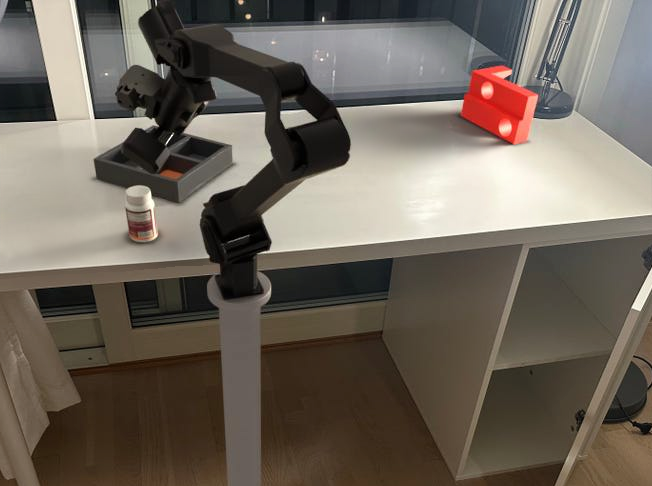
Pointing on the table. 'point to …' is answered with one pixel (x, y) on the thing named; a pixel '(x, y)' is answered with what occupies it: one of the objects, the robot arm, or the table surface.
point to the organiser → (168, 166)
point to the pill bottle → (140, 214)
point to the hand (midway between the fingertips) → (157, 146)
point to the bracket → (499, 104)
